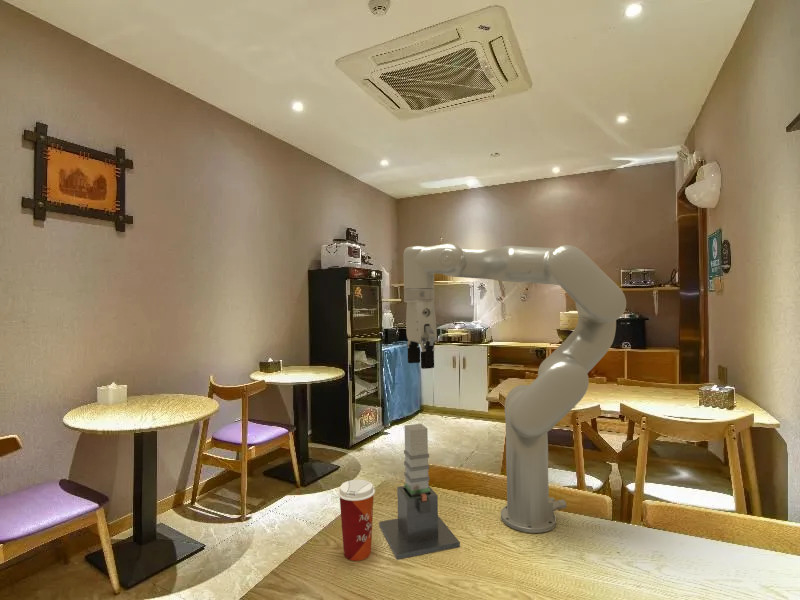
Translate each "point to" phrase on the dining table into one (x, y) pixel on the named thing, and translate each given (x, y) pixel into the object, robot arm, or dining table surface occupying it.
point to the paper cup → (356, 518)
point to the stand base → (417, 526)
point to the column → (416, 460)
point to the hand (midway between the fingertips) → (420, 365)
